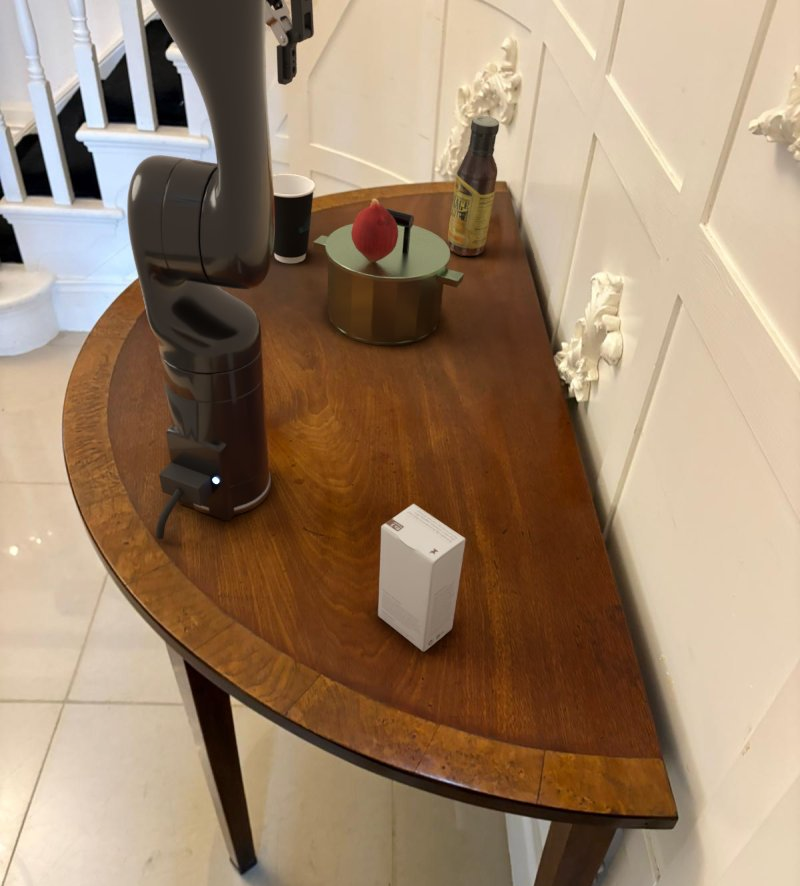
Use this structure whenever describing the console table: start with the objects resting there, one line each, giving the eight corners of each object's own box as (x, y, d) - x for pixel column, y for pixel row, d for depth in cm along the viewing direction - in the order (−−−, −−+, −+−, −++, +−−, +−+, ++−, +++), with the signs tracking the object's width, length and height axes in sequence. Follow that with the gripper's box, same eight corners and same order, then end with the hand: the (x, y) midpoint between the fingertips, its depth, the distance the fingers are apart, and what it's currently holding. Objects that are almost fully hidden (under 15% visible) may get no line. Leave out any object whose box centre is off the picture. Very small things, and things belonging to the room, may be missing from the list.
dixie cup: (261, 245, 124) (257, 173, 116) (311, 243, 125) (310, 172, 118) (267, 269, 118) (264, 195, 111) (319, 267, 120) (319, 194, 112)
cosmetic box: (453, 628, 73) (472, 537, 64) (421, 656, 70) (436, 564, 62) (405, 591, 75) (416, 499, 67) (372, 617, 73) (379, 524, 64)
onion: (398, 254, 103) (402, 192, 97) (393, 274, 99) (398, 211, 93) (354, 249, 103) (356, 187, 97) (347, 269, 99) (349, 205, 93)
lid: (421, 299, 98) (426, 251, 93) (302, 265, 101) (302, 218, 97) (466, 247, 109) (472, 202, 104) (358, 219, 112) (359, 174, 108)
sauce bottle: (441, 242, 129) (456, 111, 115) (476, 239, 131) (495, 110, 117) (454, 260, 125) (472, 127, 111) (490, 258, 127) (512, 126, 113)
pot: (431, 363, 104) (439, 297, 97) (291, 321, 108) (289, 255, 102) (471, 311, 114) (481, 248, 107) (341, 274, 119) (343, 212, 112)
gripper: (156, -120, 75) (177, 70, 86) (288, -99, 72) (292, 96, 83) (200, -125, 80) (215, 55, 91) (325, -106, 77) (324, 79, 88)
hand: (251, 75), depth 87 cm, fingers open, 8 cm apart
